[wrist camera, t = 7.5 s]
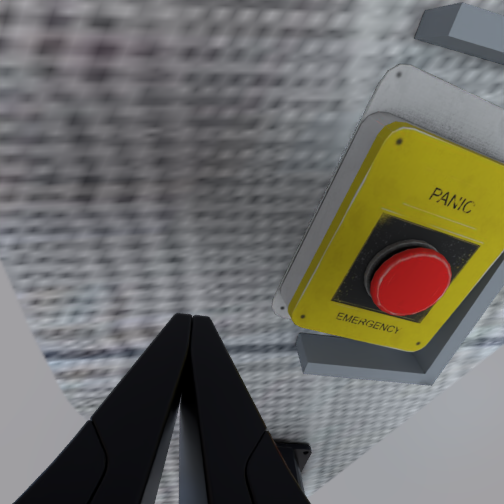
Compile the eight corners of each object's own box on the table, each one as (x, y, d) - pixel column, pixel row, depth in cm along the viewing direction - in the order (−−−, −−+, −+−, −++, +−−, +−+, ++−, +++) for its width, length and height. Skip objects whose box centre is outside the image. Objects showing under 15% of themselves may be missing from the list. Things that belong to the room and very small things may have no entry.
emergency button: (274, 360, 18) (442, 55, 11) (265, 307, 22) (386, 55, 15) (417, 388, 20) (629, 148, 13) (386, 336, 24) (539, 127, 17)
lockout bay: (419, 357, 25) (448, 402, 21) (295, 343, 23) (307, 390, 20) (608, 67, 15) (708, 70, 12) (425, 10, 14) (485, -3, 11)
